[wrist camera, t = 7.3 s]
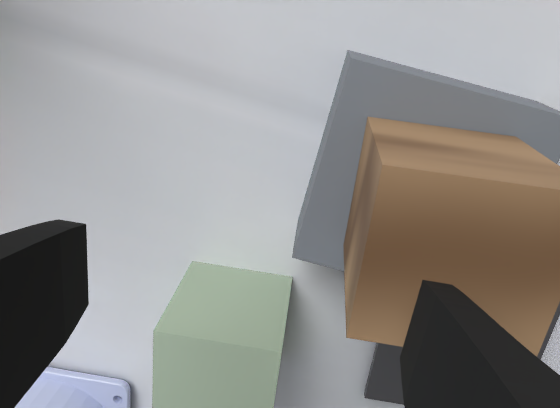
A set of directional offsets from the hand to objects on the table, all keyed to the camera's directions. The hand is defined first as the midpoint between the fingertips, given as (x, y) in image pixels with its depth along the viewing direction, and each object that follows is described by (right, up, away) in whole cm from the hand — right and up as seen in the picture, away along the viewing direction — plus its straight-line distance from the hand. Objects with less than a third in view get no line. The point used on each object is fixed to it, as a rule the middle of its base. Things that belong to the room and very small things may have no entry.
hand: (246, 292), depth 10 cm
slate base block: (+6, +4, +8) cm, 11 cm away
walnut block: (+5, +2, +5) cm, 8 cm away
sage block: (-1, -3, +12) cm, 12 cm away
